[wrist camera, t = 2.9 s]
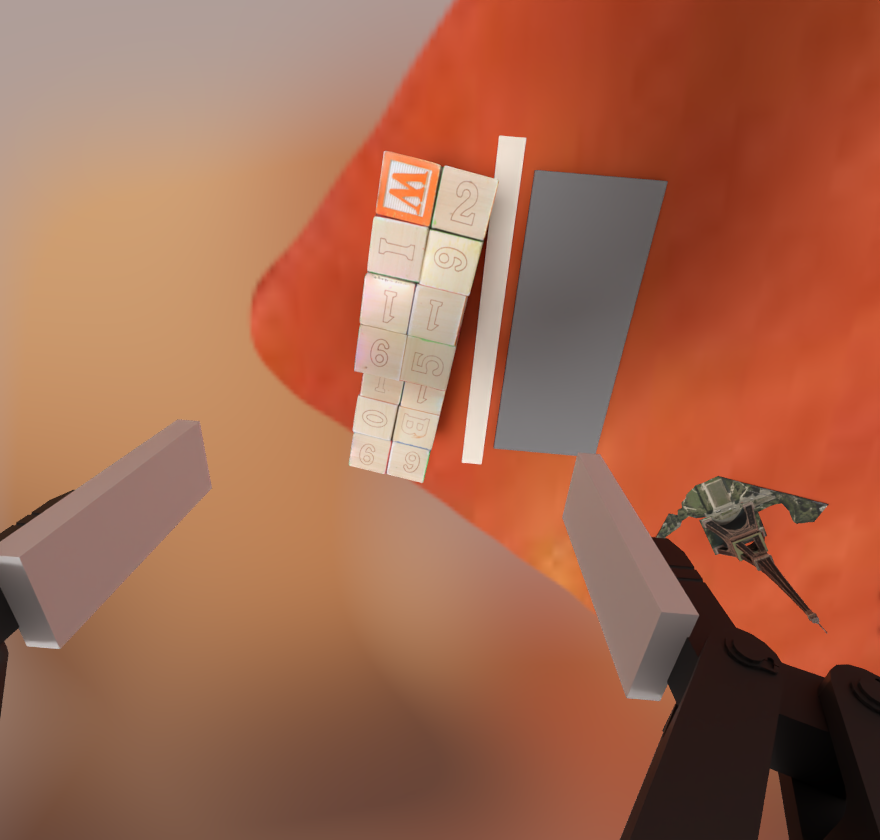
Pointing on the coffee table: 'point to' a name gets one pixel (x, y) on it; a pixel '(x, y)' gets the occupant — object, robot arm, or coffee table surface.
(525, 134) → the coffee table surface
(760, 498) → the eiffel tower figurine
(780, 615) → the coffee table surface
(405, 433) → the stack of blocks
